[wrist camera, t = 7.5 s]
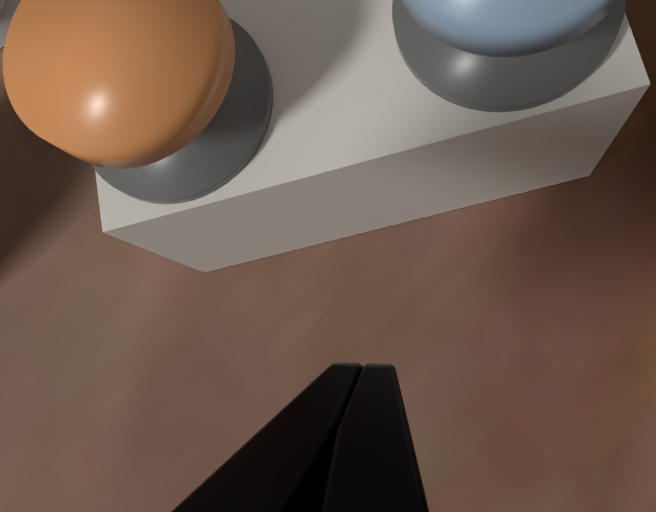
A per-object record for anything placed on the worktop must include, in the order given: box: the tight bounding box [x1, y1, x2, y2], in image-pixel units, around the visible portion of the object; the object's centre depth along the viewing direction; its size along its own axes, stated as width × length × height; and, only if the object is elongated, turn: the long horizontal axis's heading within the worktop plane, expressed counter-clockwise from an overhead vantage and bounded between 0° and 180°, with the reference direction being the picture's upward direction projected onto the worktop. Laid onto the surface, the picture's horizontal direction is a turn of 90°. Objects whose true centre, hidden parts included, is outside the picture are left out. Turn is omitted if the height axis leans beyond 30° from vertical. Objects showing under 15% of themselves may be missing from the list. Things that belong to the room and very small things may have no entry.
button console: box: [92, 0, 650, 272], centre depth 19 cm, size 15×6×7 cm, turn 102°
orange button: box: [3, 0, 235, 169], centre depth 15 cm, size 5×5×3 cm
